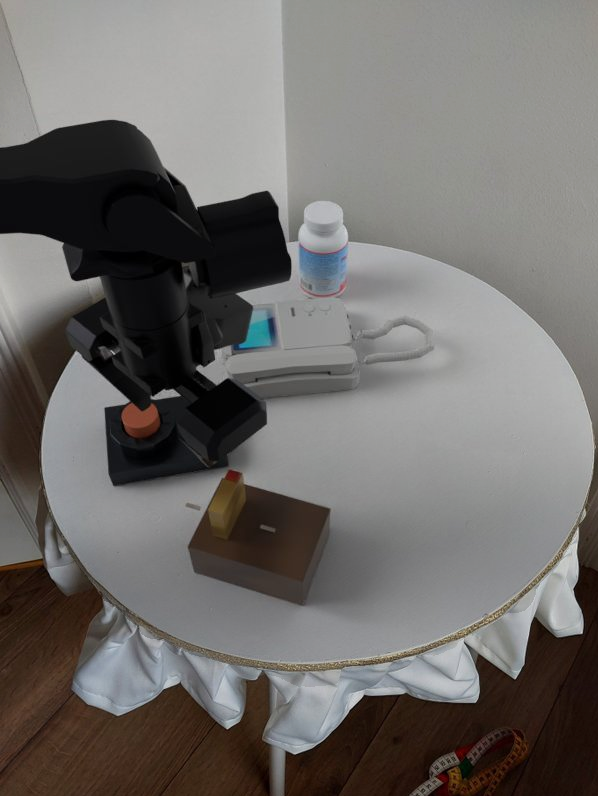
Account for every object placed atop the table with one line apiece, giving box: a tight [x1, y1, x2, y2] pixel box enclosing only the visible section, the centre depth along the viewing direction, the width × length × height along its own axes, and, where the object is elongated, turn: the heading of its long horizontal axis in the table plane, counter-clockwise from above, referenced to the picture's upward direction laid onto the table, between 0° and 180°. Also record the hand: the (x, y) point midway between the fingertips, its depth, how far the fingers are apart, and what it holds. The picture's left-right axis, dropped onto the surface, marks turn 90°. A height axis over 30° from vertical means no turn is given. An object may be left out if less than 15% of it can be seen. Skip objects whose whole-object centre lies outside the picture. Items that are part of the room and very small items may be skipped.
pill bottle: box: [297, 200, 349, 299], centre depth 90 cm, size 6×6×11 cm
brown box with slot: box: [185, 477, 332, 606], centre depth 69 cm, size 13×8×5 cm, turn 72°
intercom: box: [220, 297, 435, 399], centre depth 85 cm, size 13×4×25 cm
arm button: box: [122, 403, 160, 438], centre depth 74 cm, size 4×4×2 cm
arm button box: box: [103, 395, 230, 487], centre depth 77 cm, size 12×9×4 cm
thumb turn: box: [208, 468, 246, 540], centre depth 65 cm, size 5×1×5 cm, turn 162°
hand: (177, 435), depth 66 cm, fingers open, 9 cm apart
